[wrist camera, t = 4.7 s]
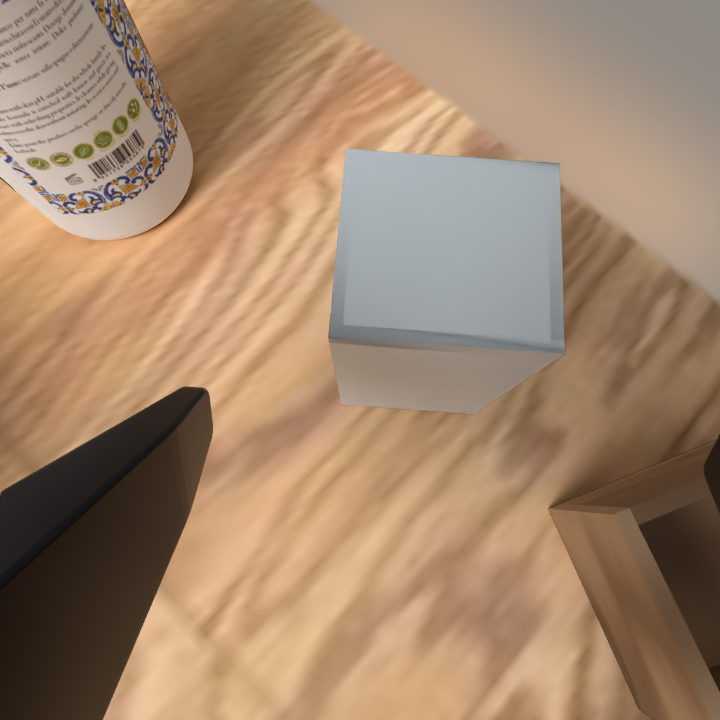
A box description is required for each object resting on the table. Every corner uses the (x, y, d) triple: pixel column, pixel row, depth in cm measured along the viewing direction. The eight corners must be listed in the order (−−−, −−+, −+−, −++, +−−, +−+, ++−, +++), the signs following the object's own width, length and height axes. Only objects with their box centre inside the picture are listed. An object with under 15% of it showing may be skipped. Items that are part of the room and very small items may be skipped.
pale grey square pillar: (473, 414, 20) (564, 353, 11) (340, 404, 20) (328, 336, 11) (475, 298, 21) (559, 163, 12) (350, 290, 21) (346, 148, 12)
